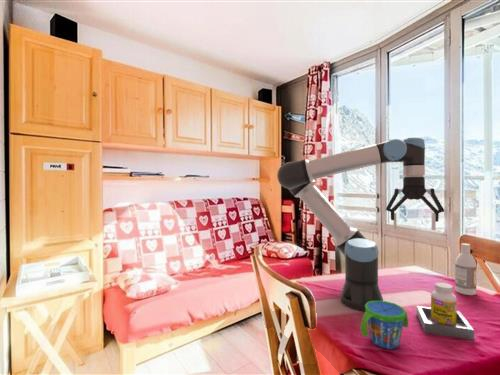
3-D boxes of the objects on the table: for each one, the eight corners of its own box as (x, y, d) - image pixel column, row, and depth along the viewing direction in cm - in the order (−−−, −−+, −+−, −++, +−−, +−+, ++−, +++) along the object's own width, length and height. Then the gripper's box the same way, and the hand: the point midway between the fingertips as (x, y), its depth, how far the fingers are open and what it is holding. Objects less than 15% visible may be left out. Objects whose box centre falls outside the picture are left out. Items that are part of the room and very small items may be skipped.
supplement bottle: (429, 325, 89) (429, 285, 89) (432, 317, 94) (432, 279, 94) (455, 332, 84) (455, 290, 84) (457, 324, 89) (457, 284, 89)
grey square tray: (424, 332, 86) (424, 322, 86) (416, 314, 97) (416, 305, 97) (474, 340, 81) (474, 330, 81) (459, 320, 93) (459, 311, 93)
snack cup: (394, 329, 88) (394, 297, 88) (422, 348, 78) (422, 312, 77) (350, 336, 84) (349, 303, 84) (373, 358, 74) (373, 320, 74)
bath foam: (474, 297, 110) (475, 246, 110) (453, 292, 115) (453, 244, 115) (477, 292, 115) (477, 243, 115) (456, 287, 120) (456, 241, 120)
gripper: (447, 175, 112) (447, 228, 112) (379, 177, 121) (379, 226, 121) (453, 175, 105) (453, 232, 105) (380, 176, 114) (380, 228, 114)
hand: (413, 229), depth 113 cm, fingers open, 13 cm apart
